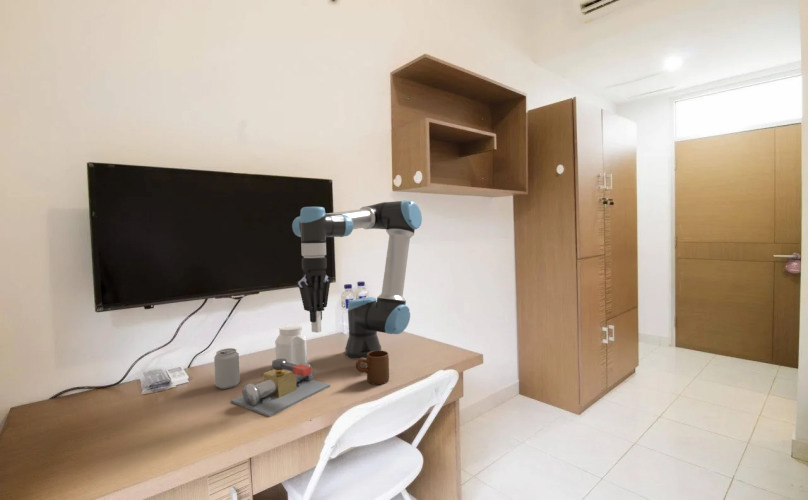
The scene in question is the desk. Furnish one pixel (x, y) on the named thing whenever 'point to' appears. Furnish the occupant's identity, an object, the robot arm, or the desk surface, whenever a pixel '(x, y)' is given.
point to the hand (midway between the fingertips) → (316, 331)
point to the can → (227, 368)
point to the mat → (284, 398)
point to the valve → (274, 385)
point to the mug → (375, 367)
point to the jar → (291, 344)
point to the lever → (291, 367)
